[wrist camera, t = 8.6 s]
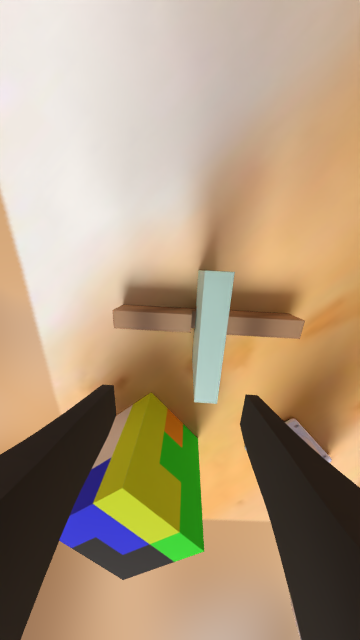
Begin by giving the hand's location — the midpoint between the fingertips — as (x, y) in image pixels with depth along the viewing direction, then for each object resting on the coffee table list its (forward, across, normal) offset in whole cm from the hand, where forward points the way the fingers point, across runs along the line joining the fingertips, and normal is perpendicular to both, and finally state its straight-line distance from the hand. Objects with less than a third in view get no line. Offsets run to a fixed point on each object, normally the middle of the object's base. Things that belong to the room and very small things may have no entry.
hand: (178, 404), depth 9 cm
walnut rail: (+10, -2, -2) cm, 11 cm away
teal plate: (+10, -2, -2) cm, 11 cm away
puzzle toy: (+11, +4, +16) cm, 19 cm away
